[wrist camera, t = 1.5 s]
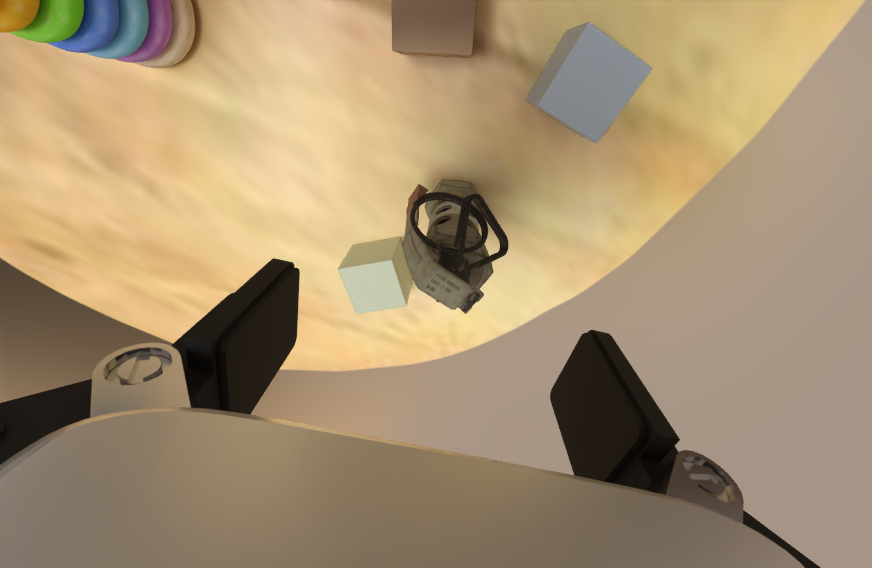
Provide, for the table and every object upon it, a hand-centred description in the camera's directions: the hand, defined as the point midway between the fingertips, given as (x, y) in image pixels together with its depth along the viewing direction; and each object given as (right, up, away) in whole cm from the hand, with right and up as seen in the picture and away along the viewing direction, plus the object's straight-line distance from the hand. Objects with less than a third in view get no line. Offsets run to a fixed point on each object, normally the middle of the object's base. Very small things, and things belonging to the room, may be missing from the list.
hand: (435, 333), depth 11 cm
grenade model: (+1, +10, +20) cm, 22 cm away
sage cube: (-5, +4, +24) cm, 25 cm away
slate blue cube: (+10, +17, +15) cm, 25 cm away
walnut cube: (0, +21, +13) cm, 25 cm away
